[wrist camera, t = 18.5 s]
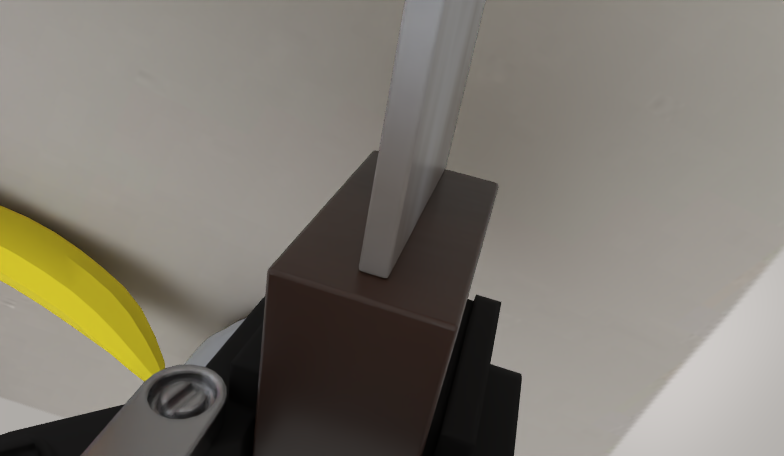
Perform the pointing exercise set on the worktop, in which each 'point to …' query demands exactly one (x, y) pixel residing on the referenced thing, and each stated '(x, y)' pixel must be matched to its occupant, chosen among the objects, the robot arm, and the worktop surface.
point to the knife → (380, 269)
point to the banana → (76, 291)
